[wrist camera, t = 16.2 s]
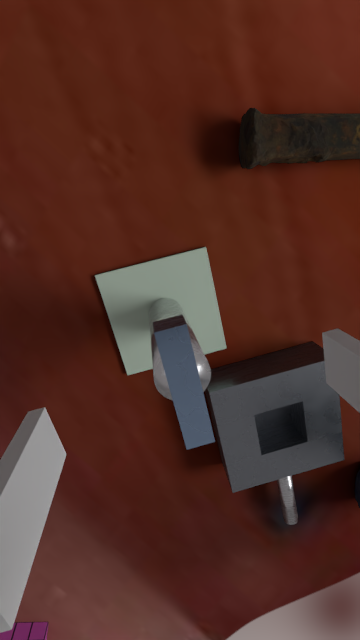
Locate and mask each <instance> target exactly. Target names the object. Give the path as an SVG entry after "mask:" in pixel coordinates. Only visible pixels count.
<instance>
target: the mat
mask: <svg viewBox="0 0 360 640" xmlns="http://www.w3.org/2000/svg"><path fill="white" fill-rule="evenodd" d="M95 277H96V280H97V284H98V287H99V290H100V293H101V296H102V299H103V302H104V305H105V308H106V311H107V314H108V317H109V320H110V323H111V326H112V329H113V332H114V335H115V338H116V341H117V344H118V347H119V351H120V354H121V357H122V360H123V363H124V366H125V369H126V372H127V375H131V374H135V373H138V372H142V371H146V370H149V369H153V362H152V350H151V338H150V326H149V310H150V307H151V306H152V304H153V303H154V302H155V301H157V300H159V299H161V298H171V299H174V300H176V301H177V302H178V303H179V304H180V305H181V307H182V309H183V311H184V313H185V315H186V317H187V320H188V322H189V324H190V326H191V328H192V330H193V332H194V334H195V336H196V338H197V340H198V343H199V345H200V347H201V349H202V351H203V353H204V354H208V353H212V352H215V351H219V350H223V349H226V343H225V338H224V333H223V328H222V323H221V318H220V313H219V308H218V303H217V298H216V294H215V289H214V284H213V279H212V274H211V269H210V264H209V259H208V254H207V249H206V247H203V248H199V249H195V250H191V251H187V252H183V253H179V254H175V255H171V256H168V257H164V258H160V259H156V260H152V261H148V262H144V263H140V264H136V265H132V266H128V267H124V268H120V269H117V270H113V271H109V272H105V273H101V274H97V275H95Z"/></svg>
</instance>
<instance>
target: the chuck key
mask: <svg viewBox="0 0 360 640" xmlns="http://www.w3.org/2000/svg"><path fill="white" fill-rule="evenodd" d="M149 326H150V338H151V350H152V362H153V374H154V383H155V386H156V388H157V390H158V391H159V392H160V393H161V394H162V395H163V396H164V397H166V398H167V399H170V400H173V403H174V406H175V410H176V413H177V417H178V420H179V424H180V428H181V431H182V435H183V438H184V442H185V445H186V449H187V450H188V449H191V448H195V447H198V446H202V445H206V444H209V443H213V442H215V439H214V435H213V431H212V427H211V422H210V418H209V414H208V410H207V406H206V402H205V398H204V393H203V392H204V391H205V389H206V388H207V386H208V384H209V382H210V379H211V369H210V366H209V364H208V361H207V359H206V357H205V355H204V353H203V351H202V349H201V347H200V345H199V343H198V340H197V338H196V336H195V334H194V332H193V330H192V328H191V326H190V324H189V322H188V320H187V317H186V315H185V313H184V311H183V309H182V307H181V305H180V304H179V303H178V302H177V301H176V300H174V299H171V298H161V299H159V300H157V301H155V302H154V303H153V304H152V306H151V307H150V310H149Z"/></svg>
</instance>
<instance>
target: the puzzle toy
mask: <svg viewBox="0 0 360 640" xmlns="http://www.w3.org/2000/svg"><path fill="white" fill-rule="evenodd" d="M47 631H48V622H33V623H32V622H24V623H14V624H13V628H12V630H8V631H5V632H1V633H0V640H47Z"/></svg>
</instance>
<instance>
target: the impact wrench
mask: <svg viewBox="0 0 360 640" xmlns="http://www.w3.org/2000/svg"><path fill="white" fill-rule="evenodd" d="M355 486H356V487H355V498H356V501H357V502H358V506H359V508H360V470H359V471H358V473H357V476H356V482H355Z"/></svg>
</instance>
